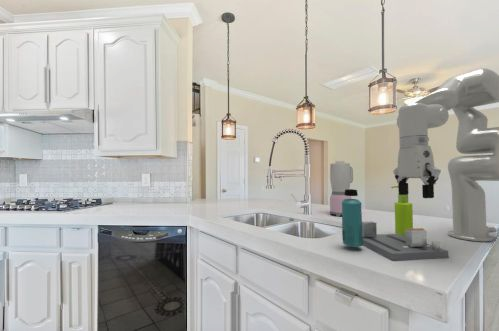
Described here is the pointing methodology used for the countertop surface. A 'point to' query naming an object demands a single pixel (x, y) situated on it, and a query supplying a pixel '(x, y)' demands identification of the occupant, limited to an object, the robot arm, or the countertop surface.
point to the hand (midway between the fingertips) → (415, 196)
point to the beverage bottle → (352, 220)
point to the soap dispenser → (403, 214)
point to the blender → (339, 185)
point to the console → (402, 248)
